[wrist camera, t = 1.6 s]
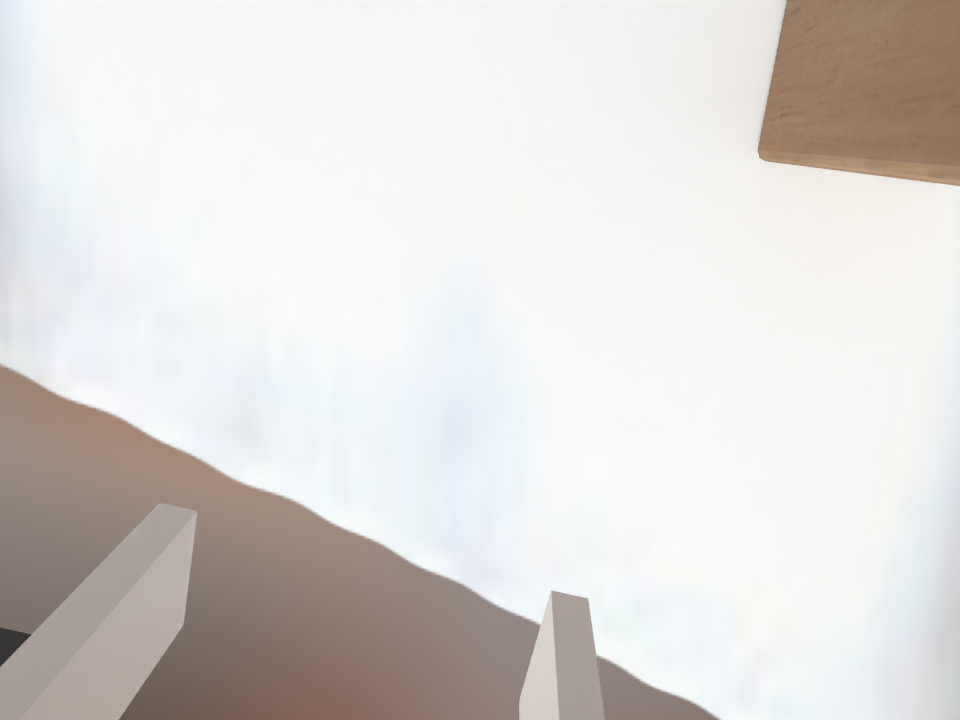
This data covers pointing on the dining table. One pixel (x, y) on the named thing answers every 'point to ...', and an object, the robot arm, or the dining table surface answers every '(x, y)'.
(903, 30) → the wooden block
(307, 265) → the dining table surface
